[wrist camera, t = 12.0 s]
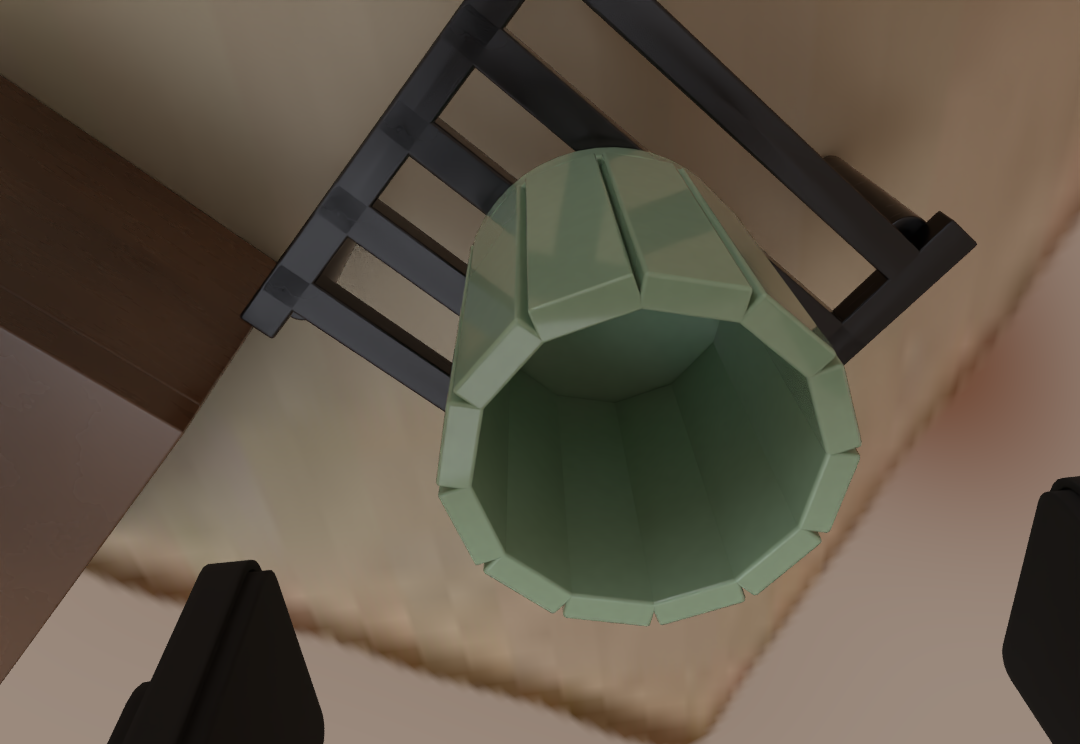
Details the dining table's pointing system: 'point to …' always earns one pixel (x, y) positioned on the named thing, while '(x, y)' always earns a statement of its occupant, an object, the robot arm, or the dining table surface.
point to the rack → (486, 44)
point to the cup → (636, 398)
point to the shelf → (95, 346)
